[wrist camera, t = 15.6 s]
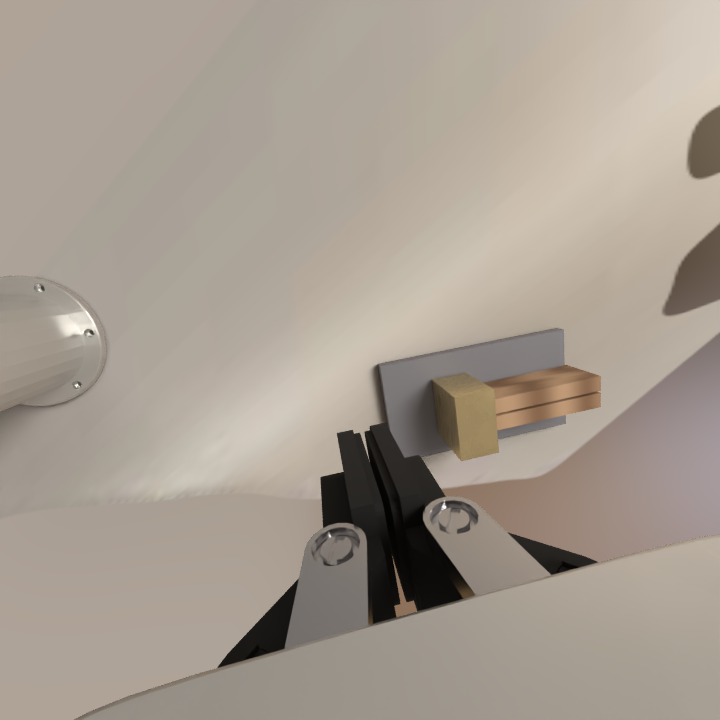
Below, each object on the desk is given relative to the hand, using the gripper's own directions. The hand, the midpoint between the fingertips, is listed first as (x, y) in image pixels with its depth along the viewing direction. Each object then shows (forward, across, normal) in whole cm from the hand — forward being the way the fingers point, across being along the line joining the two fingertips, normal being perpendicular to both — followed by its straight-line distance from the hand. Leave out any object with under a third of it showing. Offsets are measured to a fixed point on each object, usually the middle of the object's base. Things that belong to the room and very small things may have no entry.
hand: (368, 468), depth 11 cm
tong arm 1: (+26, -20, +9) cm, 33 cm away
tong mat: (+27, -16, +10) cm, 33 cm away
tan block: (+26, -13, +10) cm, 30 cm away
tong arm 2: (+25, -19, +11) cm, 34 cm away
